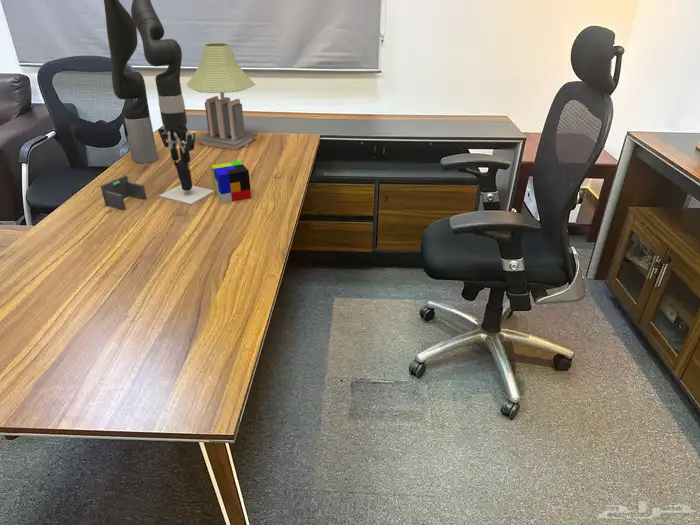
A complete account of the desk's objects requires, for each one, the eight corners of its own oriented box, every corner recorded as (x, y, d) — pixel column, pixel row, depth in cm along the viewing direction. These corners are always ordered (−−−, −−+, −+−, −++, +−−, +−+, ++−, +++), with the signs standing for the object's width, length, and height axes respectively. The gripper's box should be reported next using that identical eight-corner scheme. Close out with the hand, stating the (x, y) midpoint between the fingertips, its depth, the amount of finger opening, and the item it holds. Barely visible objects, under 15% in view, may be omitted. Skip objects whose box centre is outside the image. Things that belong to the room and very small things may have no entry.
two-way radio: (191, 191, 166) (184, 148, 158) (177, 192, 165) (169, 149, 157) (193, 185, 170) (186, 142, 162) (180, 185, 170) (172, 143, 162)
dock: (105, 205, 160) (100, 185, 157) (129, 194, 168) (124, 175, 164) (123, 210, 157) (118, 190, 154) (146, 198, 165) (142, 179, 161)
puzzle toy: (222, 203, 163) (218, 175, 158) (214, 192, 171) (211, 165, 165) (251, 198, 167) (248, 170, 162) (242, 187, 175) (239, 161, 169)
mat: (159, 197, 166) (158, 195, 166) (183, 184, 176) (183, 183, 175) (191, 205, 161) (190, 203, 161) (214, 192, 171) (214, 190, 170)
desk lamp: (183, 147, 210) (166, 46, 189) (221, 130, 232) (210, 38, 211) (234, 156, 202) (222, 52, 181) (269, 137, 224) (262, 42, 203)
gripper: (146, 108, 153) (156, 161, 162) (181, 114, 148) (190, 168, 157) (163, 103, 159) (173, 154, 168) (198, 109, 154) (205, 161, 163)
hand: (181, 161), depth 162 cm, fingers closed on two-way radio, 4 cm apart
